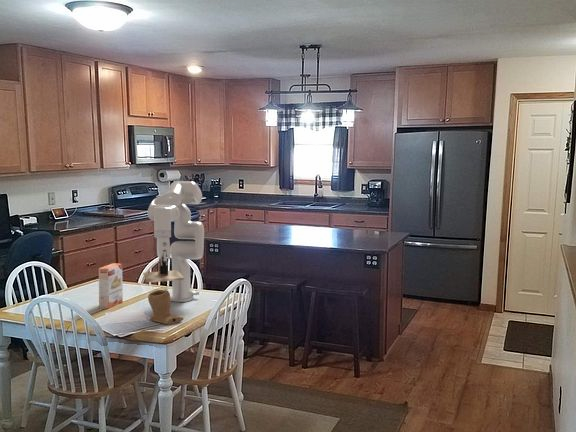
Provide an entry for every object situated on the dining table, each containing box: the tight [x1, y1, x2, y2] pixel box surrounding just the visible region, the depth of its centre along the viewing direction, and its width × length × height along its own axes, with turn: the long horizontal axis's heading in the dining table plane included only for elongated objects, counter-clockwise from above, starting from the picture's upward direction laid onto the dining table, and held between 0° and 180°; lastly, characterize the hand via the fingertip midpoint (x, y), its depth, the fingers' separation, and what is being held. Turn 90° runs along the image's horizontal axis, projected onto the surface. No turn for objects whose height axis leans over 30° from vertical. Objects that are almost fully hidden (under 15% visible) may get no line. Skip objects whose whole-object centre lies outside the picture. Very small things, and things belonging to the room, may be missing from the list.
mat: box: [104, 308, 148, 325], centre depth 252 cm, size 18×18×1 cm
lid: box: [142, 261, 184, 283], centre depth 243 cm, size 16×16×7 cm
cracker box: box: [98, 262, 124, 309], centre depth 270 cm, size 14×6×21 cm, turn 168°
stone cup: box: [147, 289, 184, 325], centre depth 245 cm, size 15×12×15 cm
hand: (163, 272), depth 243 cm, fingers closed on lid, 4 cm apart
